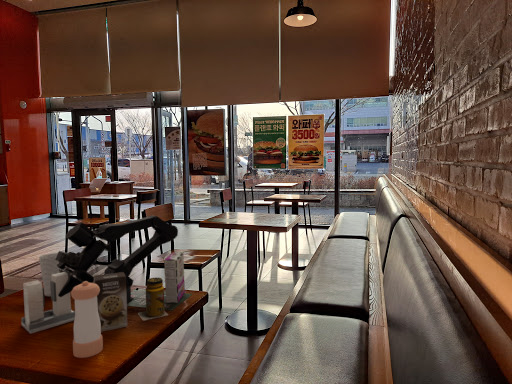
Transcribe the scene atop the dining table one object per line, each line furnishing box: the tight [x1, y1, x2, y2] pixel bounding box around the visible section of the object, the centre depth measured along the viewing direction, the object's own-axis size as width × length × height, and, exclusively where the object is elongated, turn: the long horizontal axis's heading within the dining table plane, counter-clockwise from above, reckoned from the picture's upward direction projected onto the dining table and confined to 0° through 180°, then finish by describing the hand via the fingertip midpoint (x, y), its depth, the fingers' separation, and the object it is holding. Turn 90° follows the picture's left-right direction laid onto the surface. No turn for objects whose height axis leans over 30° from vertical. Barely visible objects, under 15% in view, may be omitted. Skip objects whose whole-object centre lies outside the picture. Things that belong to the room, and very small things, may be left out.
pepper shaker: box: [70, 281, 104, 359], centre depth 96 cm, size 7×7×19 cm
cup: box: [38, 252, 61, 297], centre depth 142 cm, size 8×8×16 cm
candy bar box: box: [163, 251, 186, 304], centre depth 135 cm, size 11×5×16 cm, turn 179°
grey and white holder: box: [21, 279, 75, 335], centre depth 115 cm, size 14×9×14 cm, turn 137°
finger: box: [50, 272, 72, 316], centre depth 117 cm, size 5×4×13 cm
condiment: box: [137, 277, 169, 321], centre depth 120 cm, size 7×8×12 cm
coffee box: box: [93, 272, 128, 332], centre depth 112 cm, size 9×6×16 cm
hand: (56, 294), depth 116 cm, fingers closed on finger, 4 cm apart
